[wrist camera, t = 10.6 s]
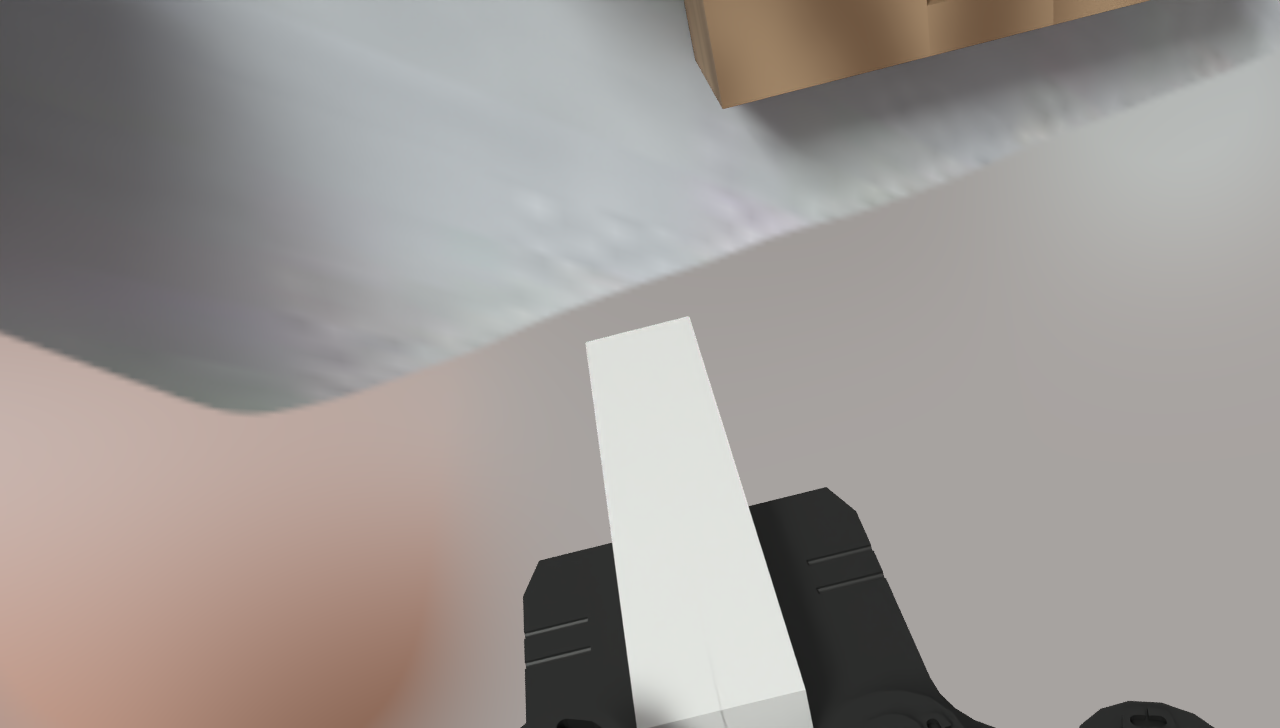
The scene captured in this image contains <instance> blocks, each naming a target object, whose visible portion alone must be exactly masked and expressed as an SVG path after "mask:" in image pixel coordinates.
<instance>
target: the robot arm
mask: <svg viewBox="0 0 1280 728" xmlns="http://www.w3.org/2000/svg"><path fill="white" fill-rule="evenodd" d="M586 350H587V358H588V365H589V372H590V380H591V387H592V395H593V403H594V410H595V417H596V425H597V431H598V432H597V433H598V440H599V448H600V455H601V462H602V469H603V477H604V485H605V492H606V500H607V507H608V515H609V522H610V530H611V537H612V543H609V544H605V545H601V546H598V547H593V548H589V549H585V550H581V551H577V552H573V553H569V554H565V555H561V556H557V557H552V558H548V559H545V560H540V561H539V562H538V565H537V567H536V569H535V572H534V573H533V576H532V578H531V580H530V582H529V585H528V587H527V589H526V592H525V594H524V596H523V605H524V633H525V639H524V645H525V646H524V648H525V663H526V669H525V685H526V686H525V687H526V688H525V689H526V724H525V725H523V726H522V727H521V728H995V727H992V726H989V725H986V724H984V723H981V722H978V721H975V720H973V719H972V718H970V717H969V716H967V715H965V714H964V713H962V712H960V711H959V710H957V709H955V708H954V707H953V706H952V705H951V704H950V703H949V702H948V701H947V700H946V699H945V698H944V697H943V696H942V695H941V694H940V693H939V691H938V690H937V688H936V686H935V685H934V683H933V682H932V680H931V678H930V676H929V674H928V672H927V670H926V668H925V665H924V663H923V661H922V658H921V656H920V654H919V652H918V649H917V647H916V645H915V643H914V640H913V638H912V636H911V634H910V631H909V629H908V627H907V625H906V622H905V620H904V618H903V616H902V614H901V611H900V609H899V607H898V605H897V603H896V600H895V598H894V596H893V593H892V591H891V589H890V587H889V584H888V582H887V580H886V578H884V575H883V571H882V569H881V566H880V564H879V562H878V560H877V558H876V555H875V553H874V551H872V548H871V544H870V542H869V539H868V537H867V535H866V533H865V530H864V528H863V526H862V524H861V521H860V519H859V517H858V515H857V513H856V511H855V510H854V509H852V508H851V507H850V506H849V505H848V504H846V503H845V502H844V501H843V500H841V499H840V498H839V497H838V496H836V495H835V494H834V493H833V492H832V491H830V490H829V489H828V488H827V487H825V488H821V489H817V490H813V491H809V492H805V493H801V494H797V495H793V496H788V497H784V498H780V499H776V500H772V501H768V502H764V503H760V504H756V505H752V506H748V504H747V500H746V497H745V494H744V491H743V488H742V484H741V481H740V478H739V475H738V472H737V468H736V465H735V462H734V459H733V456H732V452H731V449H730V446H729V443H728V440H727V436H726V433H725V430H724V427H723V423H722V420H721V417H720V414H719V411H718V407H717V404H716V401H715V398H714V395H713V392H712V389H711V385H710V382H709V379H708V376H707V372H706V369H705V366H704V362H703V359H702V356H701V353H700V350H699V346H698V343H697V340H696V337H695V334H694V330H693V327H692V324H691V321H690V318H689V316H688V317H684V318H680V319H676V320H672V321H668V322H664V323H660V324H656V325H652V326H648V327H644V328H640V329H636V330H632V331H628V332H624V333H620V334H617V335H613V336H608V337H604V338H601V339H596V340H592V341H588V342H586ZM1079 728H1214V727H1212V726H1211V725H1209V724H1208V723H1206V722H1205V721H1204V720H1202V719H1201V718H1199V717H1198V716H1196V715H1195V714H1193V713H1190V712H1187V711H1184V710H1181V709H1178V708H1175V707H1172V706H1169V705H1166V704H1164V703H1157V702H1156V703H1155V702H1137V701H1127V702H1124V703H1120V704H1117V705H1113V706H1109V707H1106V708H1102V709H1100V710H1099V711H1097V712H1096V713H1095V714H1094V715H1093V716H1091V717H1090V718H1089V719H1088V720H1086V721H1085V722H1084V723H1083V724H1081V725H1080V727H1079Z"/></svg>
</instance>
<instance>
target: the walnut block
mask: <svg viewBox="0 0 1280 728" xmlns="http://www.w3.org/2000/svg"><path fill="white" fill-rule="evenodd" d="M1145 1H1149V0H684V4H685V9H686V14H687V19H688V25H689V30H690V35H691V40H692V45H693V51H694V56H695V60H696V62H697V64H698V66H699V67H700V69H701V71H702V73H703V75H704V76H705V78H706V80H707V82H708V83H709V85H710V87H711V89H712V91H713V92H714V94H715V96H716V98H717V100H718V101H719V103H720V105H721V107H722V109H725V108H729V107H733V106H737V105H741V104H745V103H749V102H753V101H757V100H760V99H764V98H768V97H772V96H776V95H780V94H784V93H788V92H792V91H796V90H800V89H804V88H808V87H811V86H815V85H819V84H823V83H827V82H831V81H835V80H839V79H843V78H847V77H851V76H855V75H859V74H862V73H866V72H870V71H874V70H878V69H882V68H886V67H890V66H894V65H898V64H902V63H906V62H909V61H913V60H917V59H921V58H925V57H929V56H933V55H937V54H941V53H945V52H949V51H953V50H957V49H960V48H964V47H968V46H972V45H976V44H980V43H984V42H988V41H992V40H996V39H1000V38H1004V37H1008V36H1011V35H1015V34H1019V33H1023V32H1027V31H1031V30H1035V29H1039V28H1043V27H1047V26H1051V25H1055V24H1059V23H1062V22H1066V21H1070V20H1074V19H1078V18H1082V17H1086V16H1090V15H1094V14H1098V13H1102V12H1106V11H1109V10H1113V9H1117V8H1121V7H1125V6H1129V5H1133V4H1137V3H1141V2H1145Z"/></svg>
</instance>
